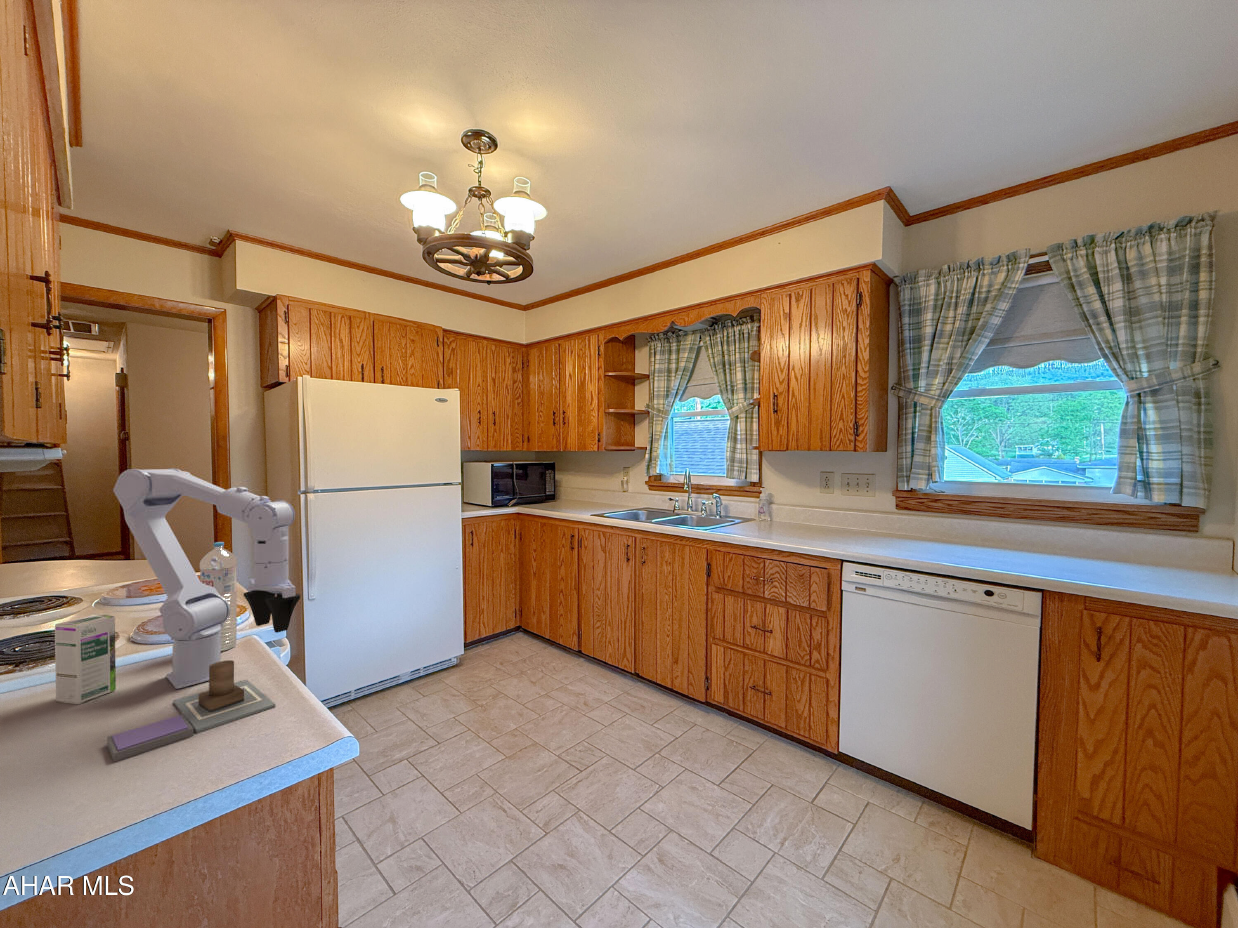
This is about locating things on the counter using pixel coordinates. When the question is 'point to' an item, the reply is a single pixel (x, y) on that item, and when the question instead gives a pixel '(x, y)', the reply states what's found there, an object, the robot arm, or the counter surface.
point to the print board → (207, 720)
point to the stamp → (221, 688)
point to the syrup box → (85, 658)
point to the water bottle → (222, 587)
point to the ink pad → (148, 737)
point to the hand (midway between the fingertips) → (271, 627)
